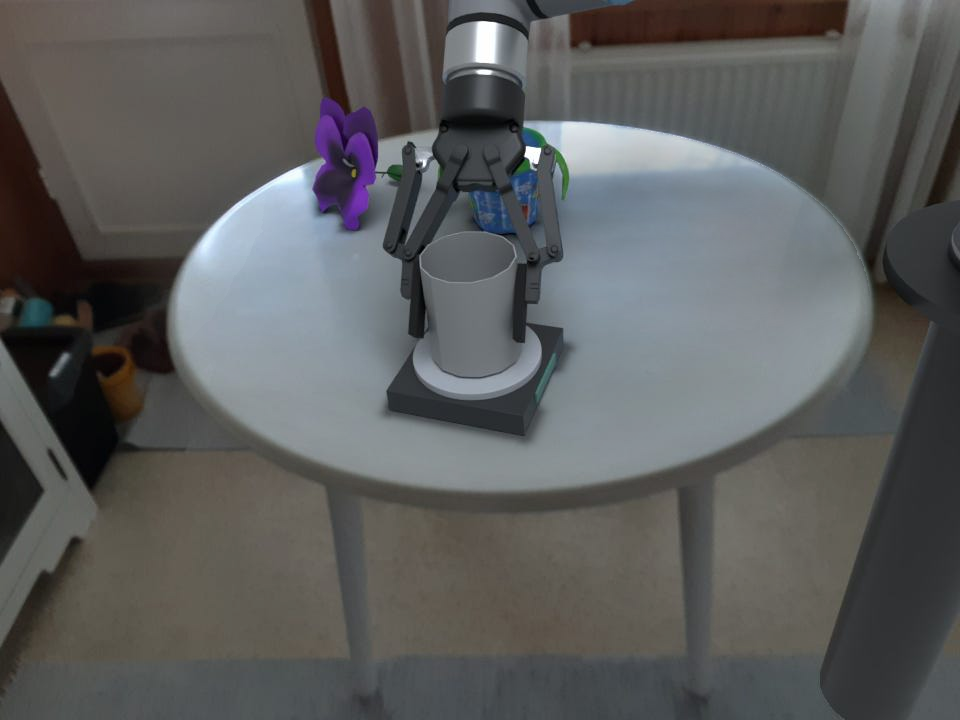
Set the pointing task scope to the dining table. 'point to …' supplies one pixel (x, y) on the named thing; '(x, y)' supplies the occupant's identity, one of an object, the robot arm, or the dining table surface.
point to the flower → (347, 160)
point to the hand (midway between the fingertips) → (466, 338)
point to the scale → (479, 385)
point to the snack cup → (525, 186)
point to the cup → (470, 302)
